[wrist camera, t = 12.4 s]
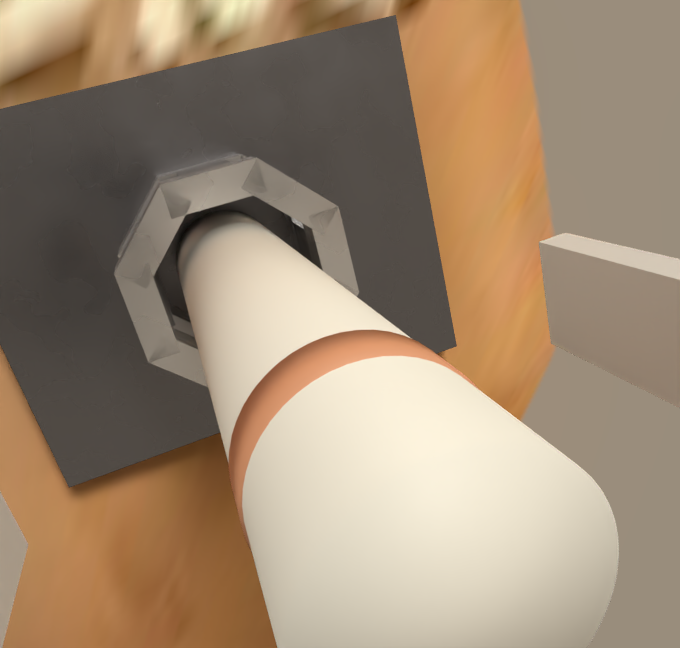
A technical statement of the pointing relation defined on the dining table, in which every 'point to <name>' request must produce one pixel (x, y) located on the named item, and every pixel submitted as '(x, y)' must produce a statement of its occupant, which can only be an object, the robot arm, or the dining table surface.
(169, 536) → the dining table surface
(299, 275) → the cream ringed tube
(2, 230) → the tube holder base
